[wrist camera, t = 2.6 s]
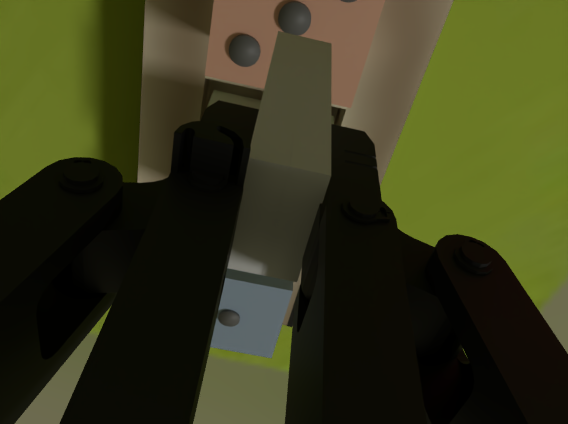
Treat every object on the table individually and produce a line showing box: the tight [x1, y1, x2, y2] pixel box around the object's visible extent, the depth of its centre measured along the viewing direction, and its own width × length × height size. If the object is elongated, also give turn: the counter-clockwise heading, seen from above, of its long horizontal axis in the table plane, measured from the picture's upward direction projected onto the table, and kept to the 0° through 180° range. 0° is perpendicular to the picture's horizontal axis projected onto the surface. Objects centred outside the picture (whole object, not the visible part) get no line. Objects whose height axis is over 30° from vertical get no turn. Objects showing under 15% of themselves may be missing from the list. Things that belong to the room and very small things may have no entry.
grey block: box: [210, 268, 293, 358], centre depth 31 cm, size 6×6×4 cm
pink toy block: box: [205, 0, 385, 108], centre depth 21 cm, size 6×6×4 cm
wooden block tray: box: [137, 0, 453, 325], centre depth 29 cm, size 13×26×4 cm, turn 168°
